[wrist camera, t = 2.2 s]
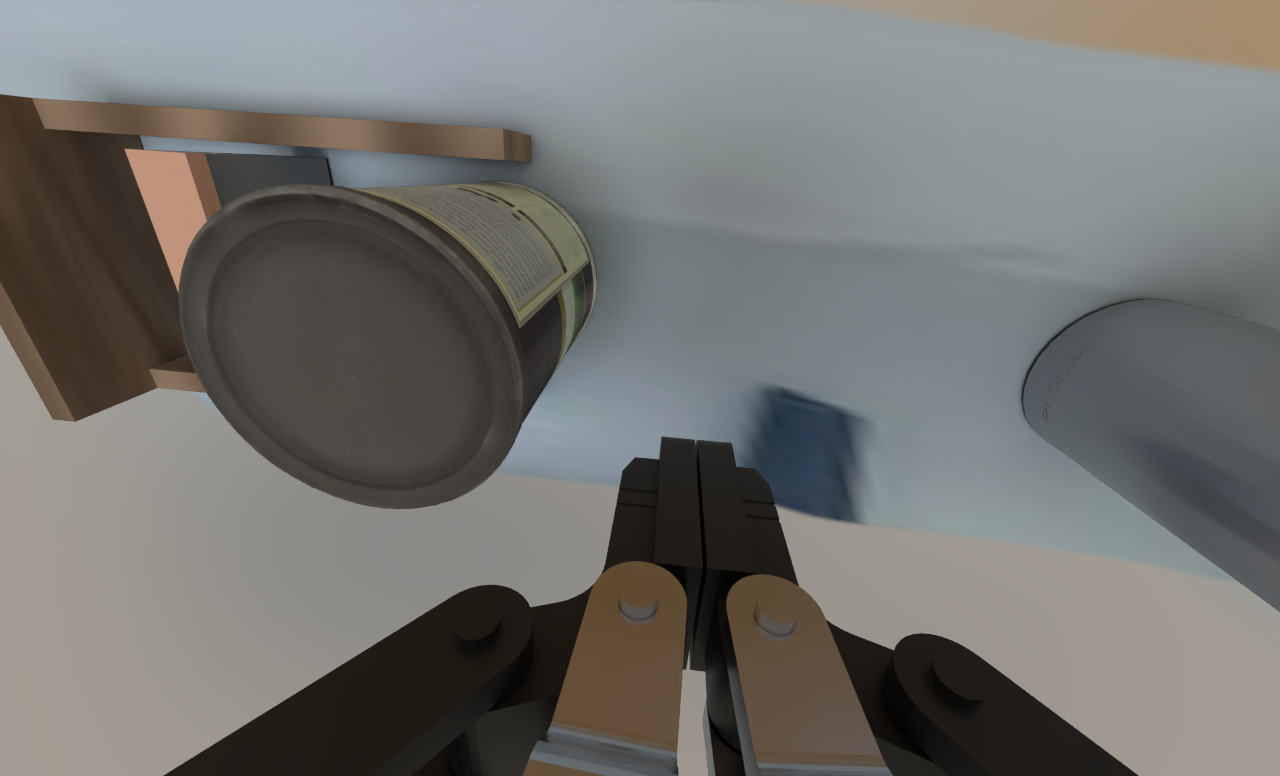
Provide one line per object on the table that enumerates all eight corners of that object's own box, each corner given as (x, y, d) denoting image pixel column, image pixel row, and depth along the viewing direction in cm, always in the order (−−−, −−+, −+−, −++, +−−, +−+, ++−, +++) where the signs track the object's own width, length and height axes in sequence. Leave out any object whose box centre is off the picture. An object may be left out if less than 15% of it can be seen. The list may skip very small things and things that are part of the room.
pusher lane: (530, 135, 23) (462, 118, 16) (539, 391, 29) (493, 463, 22) (107, 107, 24) (-137, 80, 17) (202, 360, 30) (52, 419, 23)
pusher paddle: (329, 158, 24) (184, 153, 17) (369, 353, 29) (268, 411, 22) (285, 155, 24) (124, 149, 17) (332, 350, 29) (221, 407, 22)
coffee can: (618, 342, 27) (565, 489, 15) (463, 373, 29) (295, 528, 17) (568, 155, 23) (434, 134, 11) (391, 204, 25) (95, 237, 12)
